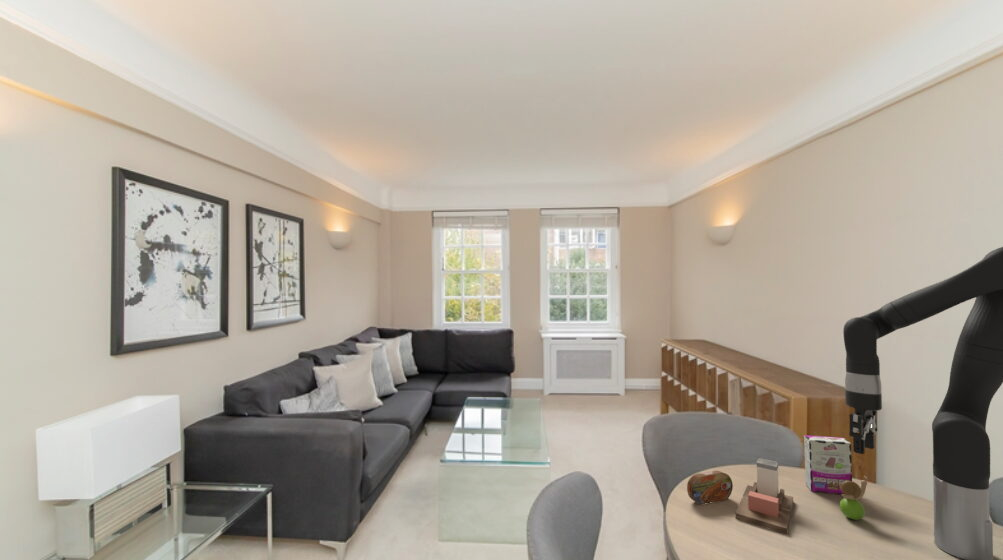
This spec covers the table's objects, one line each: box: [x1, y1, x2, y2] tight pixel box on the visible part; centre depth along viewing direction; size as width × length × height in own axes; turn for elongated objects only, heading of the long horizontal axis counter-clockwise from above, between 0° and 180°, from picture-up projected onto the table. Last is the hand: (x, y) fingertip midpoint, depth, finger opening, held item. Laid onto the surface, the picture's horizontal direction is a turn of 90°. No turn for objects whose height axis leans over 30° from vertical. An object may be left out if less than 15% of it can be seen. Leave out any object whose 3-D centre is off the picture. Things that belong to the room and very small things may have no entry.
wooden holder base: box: [735, 481, 794, 535], centre depth 121 cm, size 12×20×4 cm, turn 141°
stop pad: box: [748, 491, 779, 518], centre depth 118 cm, size 7×3×4 cm, turn 51°
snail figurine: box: [839, 475, 868, 521], centre depth 116 cm, size 5×6×12 cm
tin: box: [686, 470, 734, 506], centre depth 126 cm, size 15×3×8 cm, turn 105°
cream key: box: [756, 457, 780, 498], centre depth 125 cm, size 5×4×10 cm
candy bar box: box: [803, 434, 853, 496], centre depth 131 cm, size 11×5×16 cm, turn 73°
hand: (864, 450), depth 112 cm, fingers open, 8 cm apart
